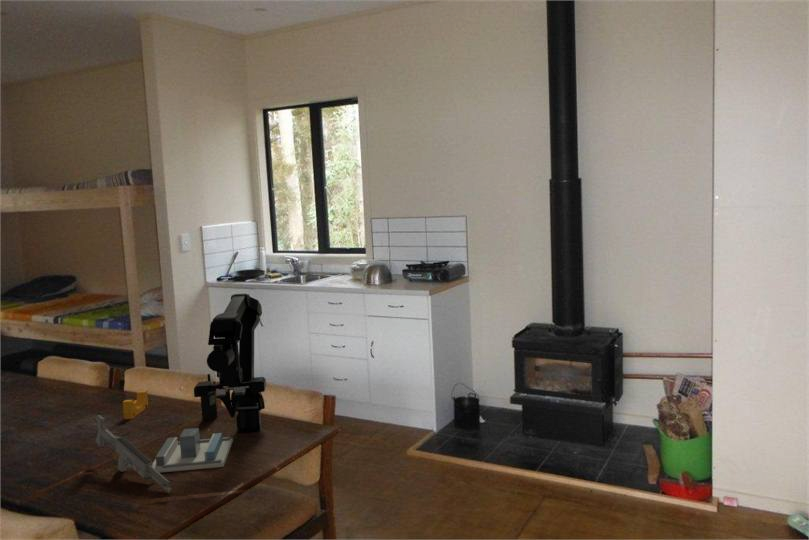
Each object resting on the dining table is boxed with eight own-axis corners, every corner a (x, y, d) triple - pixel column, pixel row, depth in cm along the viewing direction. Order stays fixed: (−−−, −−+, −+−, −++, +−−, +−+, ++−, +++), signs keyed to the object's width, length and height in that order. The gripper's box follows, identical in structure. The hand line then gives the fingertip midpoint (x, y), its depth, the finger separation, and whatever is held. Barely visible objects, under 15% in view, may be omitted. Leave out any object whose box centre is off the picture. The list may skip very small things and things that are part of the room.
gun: (176, 510, 161) (178, 475, 159) (163, 515, 159) (165, 480, 156) (105, 444, 183) (105, 412, 180) (92, 448, 180) (93, 416, 177)
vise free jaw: (222, 441, 188) (222, 432, 188) (214, 460, 174) (213, 451, 174) (213, 442, 188) (213, 433, 188) (205, 461, 174) (204, 452, 174)
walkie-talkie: (210, 423, 207) (206, 377, 206) (201, 422, 208) (197, 376, 207) (218, 418, 212) (215, 373, 210) (210, 417, 213) (206, 372, 211)
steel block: (200, 448, 184) (198, 427, 183) (196, 456, 178) (194, 435, 177) (185, 449, 183) (184, 429, 182) (181, 458, 177) (179, 436, 177)
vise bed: (232, 441, 191) (231, 430, 190) (223, 466, 173) (222, 454, 172) (165, 447, 188) (164, 435, 188) (148, 473, 171) (147, 460, 170)
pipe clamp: (136, 409, 226) (134, 390, 225) (148, 408, 226) (146, 390, 225) (119, 421, 214) (117, 401, 213) (132, 420, 214) (130, 401, 213)
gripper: (265, 352, 188) (269, 405, 190) (199, 357, 186) (203, 410, 188) (262, 362, 177) (266, 417, 179) (191, 367, 175) (196, 423, 177)
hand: (233, 417), depth 181 cm, fingers closed
